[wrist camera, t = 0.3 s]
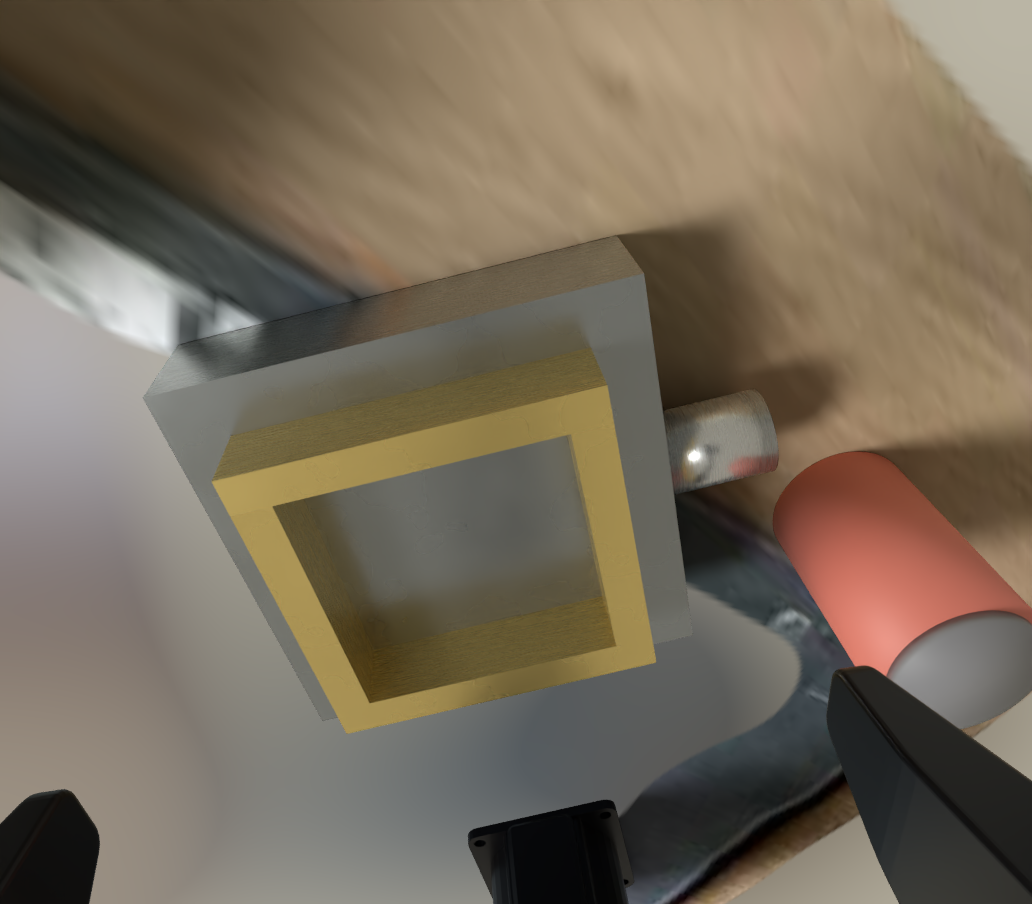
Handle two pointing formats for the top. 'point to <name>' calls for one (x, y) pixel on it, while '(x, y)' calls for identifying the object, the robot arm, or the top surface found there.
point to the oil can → (906, 588)
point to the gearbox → (456, 481)
